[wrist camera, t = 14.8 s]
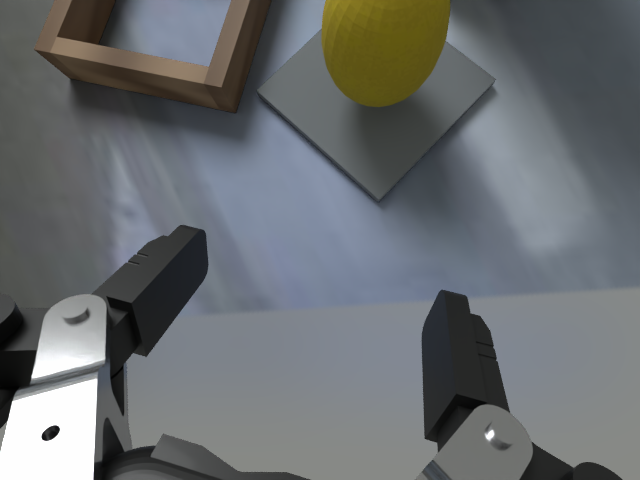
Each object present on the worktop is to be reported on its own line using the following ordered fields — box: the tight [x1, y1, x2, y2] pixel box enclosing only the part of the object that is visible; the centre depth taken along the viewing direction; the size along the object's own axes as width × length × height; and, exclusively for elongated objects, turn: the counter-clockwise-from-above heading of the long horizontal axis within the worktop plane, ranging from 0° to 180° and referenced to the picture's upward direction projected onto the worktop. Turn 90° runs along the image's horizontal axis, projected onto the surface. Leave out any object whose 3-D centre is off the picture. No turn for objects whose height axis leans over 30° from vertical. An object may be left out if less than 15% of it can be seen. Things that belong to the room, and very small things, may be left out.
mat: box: [257, 29, 496, 202], centre depth 20 cm, size 10×10×1 cm
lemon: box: [321, 0, 450, 107], centre depth 16 cm, size 6×6×8 cm
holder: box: [34, 0, 271, 113], centre depth 20 cm, size 11×11×2 cm
